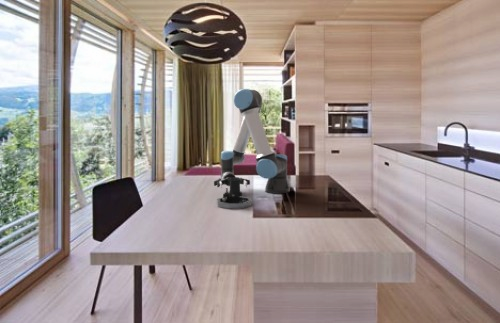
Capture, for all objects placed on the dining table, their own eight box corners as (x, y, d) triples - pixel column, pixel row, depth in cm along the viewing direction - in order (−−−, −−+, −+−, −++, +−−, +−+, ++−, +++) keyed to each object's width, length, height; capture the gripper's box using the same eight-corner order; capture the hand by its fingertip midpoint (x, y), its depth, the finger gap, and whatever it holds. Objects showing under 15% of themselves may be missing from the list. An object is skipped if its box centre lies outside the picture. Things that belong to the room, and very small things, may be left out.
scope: (225, 176, 213) (243, 176, 211) (225, 201, 215) (243, 202, 213) (221, 178, 205) (240, 179, 203) (222, 205, 207) (240, 205, 205)
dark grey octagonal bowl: (248, 200, 220) (248, 195, 220) (253, 207, 203) (253, 203, 202) (216, 201, 218) (216, 197, 218) (218, 209, 200) (218, 204, 200)
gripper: (250, 184, 237) (256, 191, 216) (208, 185, 233) (210, 192, 212) (250, 172, 236) (256, 177, 215) (208, 173, 232) (210, 179, 211)
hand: (233, 185), depth 214 cm, fingers open, 13 cm apart
